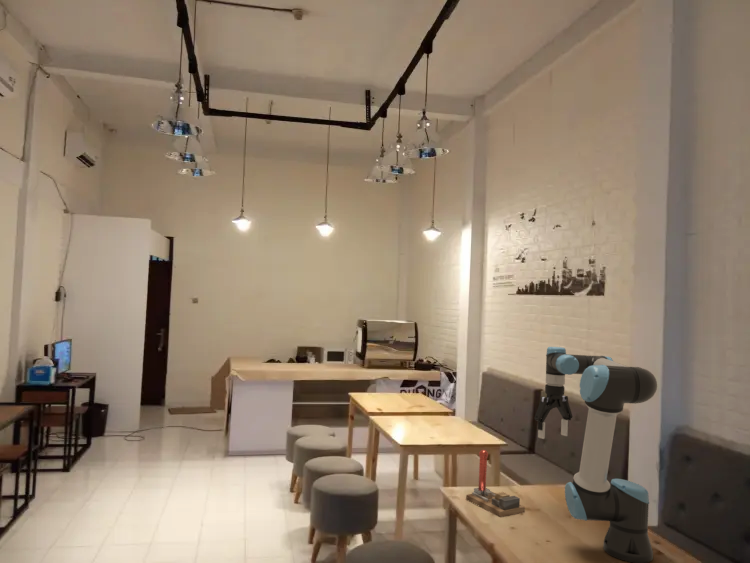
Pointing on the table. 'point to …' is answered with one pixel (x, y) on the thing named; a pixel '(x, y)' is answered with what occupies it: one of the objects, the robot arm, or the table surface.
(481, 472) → the press lever
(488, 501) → the press bed
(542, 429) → the robot arm
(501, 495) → the block
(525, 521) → the table surface
